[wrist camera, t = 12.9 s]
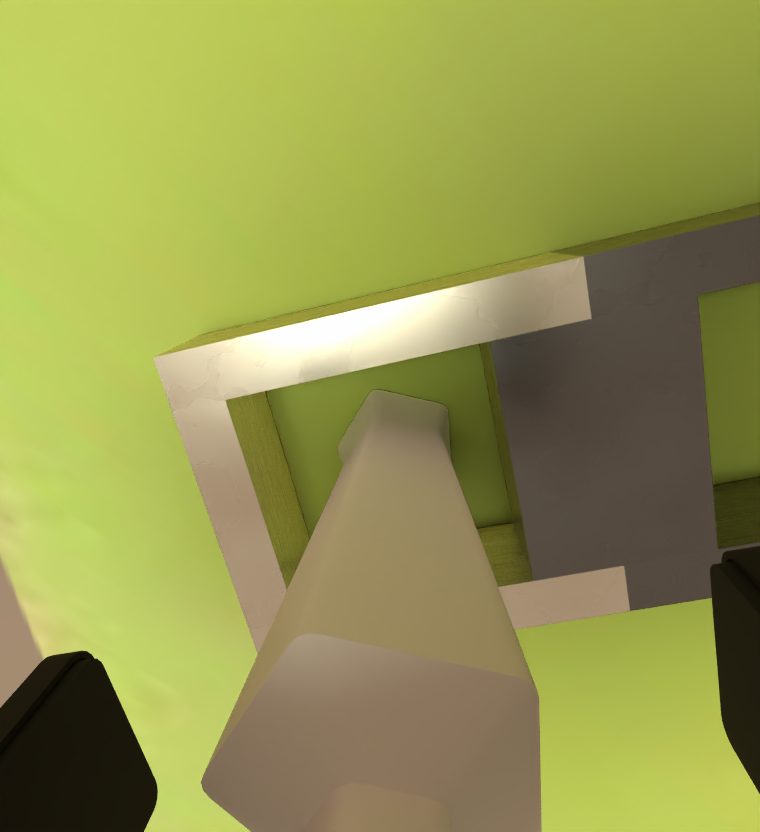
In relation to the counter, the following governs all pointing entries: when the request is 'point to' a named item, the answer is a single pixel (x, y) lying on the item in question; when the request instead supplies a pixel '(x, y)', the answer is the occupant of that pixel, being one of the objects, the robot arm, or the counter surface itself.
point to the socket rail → (509, 418)
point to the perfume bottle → (387, 660)
